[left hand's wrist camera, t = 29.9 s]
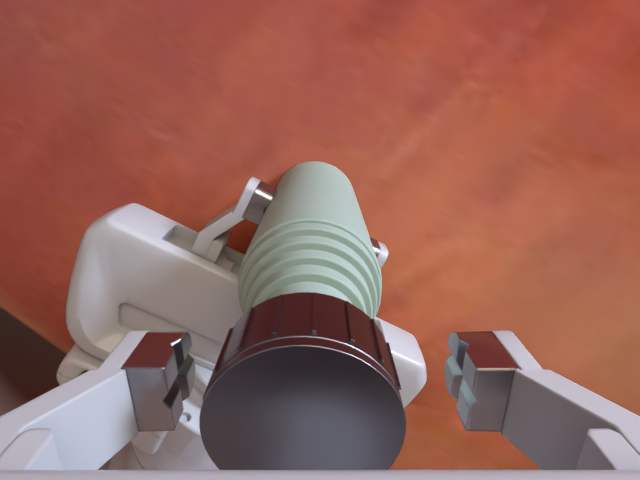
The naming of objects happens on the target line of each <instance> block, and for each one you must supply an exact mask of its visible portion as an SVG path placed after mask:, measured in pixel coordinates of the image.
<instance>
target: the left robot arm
mask: <svg viewBox="0 0 640 480" xmlns="http://www.w3.org/2000/svg"><path fill="white" fill-rule="evenodd" d="M191 347H192V341H191V335H190V334H189V333H188V331H130V332H128V333H127V334H126V335H125V336H124V337H123V338H122V340H121V341H120V342H119V343H118V345H117V346H116V347H115V348H114V349H113V351H112V352H111V353H110V354H109V355H108V357H107V358H106V359H105V360H104V362H103V363H102V364H101V365H100V366H99V368H98V369H97V370H89V371H87V372H85V373H83V374H81V375H79V376H78V377H76V378H74V379H72V380H70V381H68V382H66V383H64V384H62V385H60V386H58V387H56V388H54V389H52V390H50V391H48V392H47V393H45V394H43V395H41V396H39V397H37V398H35V399H33V400H31V401H29V402H27V403H25V404H23V405H21V406H19V407H17V408H16V409H14V410H12V411H10V412H8V413H6V414H4V415H2V416H0V480H640V416H638V415H636V414H634V413H632V412H630V411H628V410H626V409H624V408H622V407H620V406H618V405H617V404H615V403H613V402H611V401H609V400H607V399H605V398H603V397H601V396H599V395H597V394H595V393H593V392H591V391H589V390H588V389H586V388H584V387H582V386H580V385H578V384H576V383H574V382H572V381H570V380H568V379H566V378H564V377H562V376H560V375H559V374H557V373H555V372H553V371H551V370H543V369H542V368H541V366H540V365H539V364H538V363H537V362H536V360H535V359H534V358H533V357H532V355H531V354H530V353H529V352H528V351H527V349H526V348H525V347H524V346H523V345H522V343H521V342H520V341H519V340H518V339H517V337H516V336H515V335H514V334H513V333H512V332H511V331H508V330H504V331H480V332H451V334H450V336H449V340H448V347H449V349H450V351H451V353H452V354H451V355H450V356H449V357H448V358H447V359H446V362H445V381H446V385H447V389H448V391H449V394H450V396H451V397H452V398H454V399H455V400H456V401H458V402H457V409H456V410H457V412H458V414H459V417H460V419H461V421H462V423H463V426H464V428H465V430H466V431H491V432H501V434H502V435H503V436H505V437H506V438H507V439H508V440H509V441H510V442H511V443H512V444H514V445H515V446H516V447H517V448H518V449H519V450H520V451H522V452H523V453H524V454H525V455H526V456H527V457H528V458H530V459H531V460H532V461H533V462H534V463H535V464H536V465H537V466H539V467H540V468H541V469H542V470H98V469H99V468H100V467H102V466H103V465H104V464H105V463H106V462H107V461H108V460H109V459H111V458H112V457H113V456H114V455H115V454H116V453H117V452H119V451H120V450H121V449H122V448H123V447H124V446H125V445H127V444H128V443H129V442H130V441H131V440H132V439H133V438H135V437H136V436H137V435H138V434H139V432H148V431H174V430H175V428H176V426H177V423H178V421H179V419H180V417H181V414H182V412H183V410H184V409H183V402H182V401H184V400H185V399H186V398H188V397H189V396H190V394H191V391H192V389H193V385H194V380H195V362H194V359H193V358H192V357H191V356H190V355H189V354H188V353H189V351H190V349H191Z"/></svg>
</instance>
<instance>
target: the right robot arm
mask: <svg viewBox="0 0 640 480" xmlns="http://www.w3.org/2000/svg"><path fill="white" fill-rule="evenodd" d="M276 190H277V189H275V188H273V187H271V186H269V185H267V184H265V183H264V182H262V181H260V180H258V179H256V178H254V177H251V179H250V180H249V181H248V183H247V185H246V187H245V188H244V190H243V192H242V194H241V197H240V199H239V201H238V203H236V204H235V205H233V206H232V207H230V208H228V209H227V210H225V211H224V212H222V213H220V214H219V215H217V216H216V217H214V218H212V219H211V220H210V221H209V222H208V223H207V224H206V225H205V226H204V227H203V228H202V230H201V231H200V232H199V233H198V232H196V231H194V230H192V229H190V228H188V227H186V226H184V225H182V224H180V223H177V222H175V221H173V220H171V219H169V218H167V217H165V216H163V215H161V214H159V213H156V212H154V211H152V210H150V209H148V208H146V207H144V206H142V205H140V204H136V203H131V204H127V205H124V206H122V207H119V208H116V209H114V210H112V211H110V212H108V213H106V214H104V215H102V216H101V217H99V218H98V219H96V220H95V221H94V222H93V223H92V224H91V225H90V226H89V227H88V228H87V230H86V231H85V233H84V236H83V238H82V241H81V243H80V246H79V249H78V253H77V256H76V260H75V263H74V267H73V271H72V276H71V280H70V285H69V291H68V296H67V303H66V325H67V328H68V331H69V334H70V336H71V337H72V339H73V340H74V342H75V344H74V345H73V347H72V348H71V349H70V351H69V352H68V354H67V355H66V356H65V358H64V359H63V361H62V362H61V364H60V366H59V368H58V371H57V381H58V383H59V384H60V385H62V384H64V383H66V382H68V381H70V380H72V379H74V378H76V377H78V376H79V375H81V374H83V373H85V372H87V371H89V370H97V369H98V368H99V366H100V365H101V364H102V363H103V362H104V360H105V359H106V358H107V357H108V355H109V354H110V353H111V352H112V351H113V349H114V348H115V347H116V346H117V345H118V343H119V342H120V341H121V340H122V338H123V337H124V336H125V335H126V334H127V333H128V332H130V331H188V333H189V334H190V335H191V341H192V347H191V349H190V351H189V353H188V354H189V355H190V356H191V357H192V358H193V359H194V362H195V380H194V385H193V389H192V391H191V394H190V396H189V397H188V398H186V399H185V400H184V401H182V402H183V409H184V410H183V412H182V414H181V417H180V419H179V421H178V423H177V426H176V428H175V430H174V431H148V432H139V434H138V435H137V436H136V437H135V438H133V439H132V440H131V441H130V442H129V443H128V444H127V445H125V446H124V447H123V448H122V449H121V450H120V451H119V452H117V453H116V454H115V455H114V456H113V457H112V458H111V459H110V462H109V464H108V466H107V468H106V470H219V469H218V468H217V467H216V465H215V464H214V463H213V461H212V460H211V459H210V457H209V455H208V453H207V451H206V450H205V447H204V445H203V442H202V439H201V434H200V428H199V417H200V410H201V406H202V403H203V401H202V398H203V396H204V393H205V391H206V388H207V385H208V383H209V380H210V378H211V375H212V372H213V369H214V367H215V364H216V362H217V359H218V357H219V354H220V351H221V349H222V346H223V344H224V341H225V338H226V336H227V333H228V331H229V329H230V328H233V326H234V325H235V324H236V322H237V321H238V320H239V319H240V318H241V317H242V316H243V312H242V309H241V306H240V303H239V296H238V284H239V271H240V267H241V263H242V260H243V258H244V256H245V254H243V253H240V252H238V251H236V250H234V249H232V248H230V247H228V246H226V244H227V241H228V239H229V237H230V235H231V231H230V230H228V229H230V228H231V227H233V226H234V225H236V224H237V223H239V222H241V221H242V220H244V219H246V220H248V221H251V222H253V223H255V224H257V225H259V224H260V222H261V219H262V217H263V215H264V213H265V211H266V209H267V207H268V206H269V204H270V203H271V201H272V199H273V197H274V195H275V192H276ZM370 240H371V243H372V246H373V249H374V251H375V254H376V257H377V260H378V263H379V267H380V269H381V267H382V266H383V264H384V263H385V261H386V259H387V256H388V250H387V248H386V246H385V245H384V244H382V243H380V242H378V241H377V240H375V239H373V238H371V237H370ZM374 320H375V324H376V325H377V326H378V328H379V329H380V331H381V332H382V334H383V336H384V338H385V341H386V343H388V342H389V345H390V349H391V352H392V356H393V360H394V363H395V367H396V371H397V374H398V378H399V381H400V385H401V390H399V392H400V396H401V399H402V403H403V407H404V408H405V407H406V406H407V405H408V404H409V403H410V402H411V401H412V400H413V398H414V397H415V396H416V395H417V394H418V393H419V392H420V390H421V389H422V388H423V386H424V385H425V383H426V378H427V375H426V366H425V362H424V358H423V356H422V353H421V350H420V348H419V346H418V343H417V341H416V339H415V337H414V336H413V335H412V334H410V333H409V332H407V331H404V330H402V329H400V328H398V327H396V326H394V325H392V324H390V323H388V322H386V321H383V320H381V319H379V318H377V317H375V318H374Z"/></svg>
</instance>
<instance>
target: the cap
mask: <svg viewBox="0 0 640 480" xmlns="http://www.w3.org/2000/svg"><path fill="white" fill-rule="evenodd" d="M399 390H401V385H400V381H399V378H398V374H397V371H396V367H395V363H394V360H393V356H392V352H391V349H390V345H389V342H388V343H386V341H385V338H384V336H383V334H382V332H381V331H380V329H379V328H378V326H377V325H376V324H375V320H374V319H373V318H372V319H371V318H370V317H369V316H368V315H367V314H365V313H364V312H363V311H362V310H360V309H359V308H357V307H356V306H354V305H353V304H351V303H349V302H348V301H345V300H342V299H340V298H337V297H334V296H331V295H326V294H321V293H316V292H313V293H312V292H296V293H290V294H284V295H283V294H282V295H279V296H276V297H273V298H271V299H268V300H266V301H263V302H262V303H260V304H258V305H256V306H254V307H251V308H250V309H249V311H248V312H246V313H245V314H244V315H243V316H242V317H241V318H240V319H239V320H238V321H237V322H236V324H235V325H234V326H233V328H230V329H229V331H228V333H227V336H226V338H225V341H224V344H223V346H222V349H221V351H220V354H219V357H218V359H217V362H216V364H215V367H214V369H213V372H212V375H211V378H210V380H209V383H208V385H207V388H206V391H205V393H204V396H203V398H202V401H203V403H202V406H201V410H200V417H199V428H200V434H201V439H202V442H203V445H204V447H205V450H206V451H207V453H208V455H209V457H210V459H211V460H212V461H213V463H214V464H215V465H216V467H217V468H218V469H219V470H388V469H389V468H390V466H391V465H392V464H393V463H394V461H395V459H396V458H397V456H398V455H399V453H400V450H401V448H402V445H403V442H404V438H405V433H406V417H405V411H404V407H403V403H402V399H401V396H400V392H399Z"/></svg>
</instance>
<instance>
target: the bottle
mask: <svg viewBox="0 0 640 480" xmlns="http://www.w3.org/2000/svg"><path fill="white" fill-rule="evenodd" d="M276 189H277V190H276V192H275V195H274V197H273V199H272V201H271V203H270V204H269V206H268V207H267V209H266V211H265V213H264V215H263V217H262V219H261V222H260V224H259V226H258V228H257V230H256V232H255V234H254V237H253V239H252V241H251V243H250V245H249V247H248V249H247V252H246V254H245V256H244V258H243V260H242V263H241V267H240V271H239V284H238V296H239V303H240V306H241V309H242V312H243V315H244V314H245V313H246V312H248V311H249V309H250V308H251V307H254V306H256V305H258V304H260V303H262V302H263V301H266V300H268V299H271V298H273V297H276V296H279V295H282V294H283V295H284V294H290V293H296V292H312V293H313V292H316V293H321V294H326V295H331V296H334V297H337V298H340V299H342V300H345V301H348V302H349V303H351V304H353V305H354V306H356V307H357V308H359V309H360V310H362V311H363V312H364V313H365V314H367V315H368V316H369V317H370V318H371V319H372V318H373V319H374V318H375V316H376V314H377V312H378V309H379V306H380V301H381V289H382V277H381V270H380V267H379V263H378V260H377V257H376V254H375V251H374V249H373V246H372V243H371V240H370V237H369V234H368V231H367V228H366V225H365V222H364V219H363V217H362V214H361V211H360V208H359V205H358V202H357V199H356V196H355V193H354V190H353V188H352V185H351V183H350V181H349V180H348V178H347V177H346V176H345V175H344V173H342V172H341V171H340V170H339V169H337V168H336V167H334V166H332V165H330V164H327V163H324V162H316V161H313V162H305V163H302V164H299V165H297V166H294V167H293V168H291V169H290V170H289V171H287V172H286V173H285V174H284V176H283V177H282V178H281V180H280V181H279V183H278V185H277V187H276Z"/></svg>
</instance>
